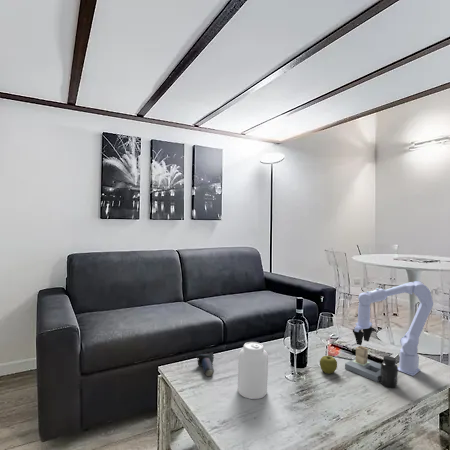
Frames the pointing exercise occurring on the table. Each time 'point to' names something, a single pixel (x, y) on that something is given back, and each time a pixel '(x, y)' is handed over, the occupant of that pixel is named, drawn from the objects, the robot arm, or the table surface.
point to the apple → (328, 364)
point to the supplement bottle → (389, 372)
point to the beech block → (361, 354)
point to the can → (252, 371)
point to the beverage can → (206, 363)
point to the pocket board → (365, 369)
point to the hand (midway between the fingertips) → (362, 342)
